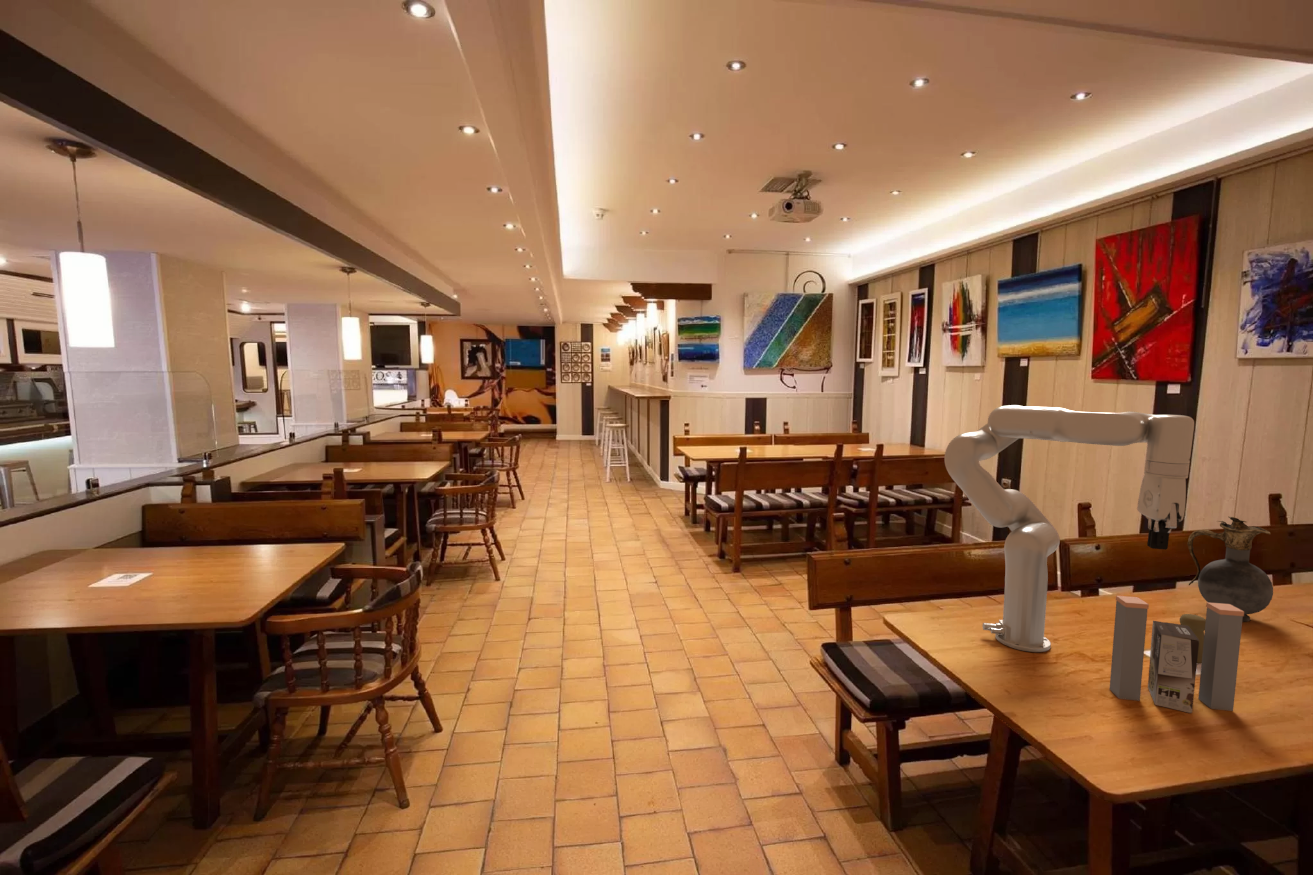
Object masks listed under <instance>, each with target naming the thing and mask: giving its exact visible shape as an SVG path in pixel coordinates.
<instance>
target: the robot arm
mask: <svg viewBox="0 0 1313 875" xmlns="http://www.w3.org/2000/svg"><path fill="white" fill-rule="evenodd" d="M1194 429H1195V420H1194V419H1193V418H1192V417H1191V416H1188V415H1183V414H1182V415H1181V414H1151V413H1144V412H1137V411H1122V412H1091V411H1078V410H1077V411H1075V410H1071V409H1068V408H1064V407H1059V406H1055V407H1054V406H1028V405H1027V406H1026V405H1025V406H1023V405H1019V404H1011V405H1010V404H1008V405H1002V406H998V407H996V408H994V409H993V410H992V411H990V413H989V414H988V418H987V423H986V424H985V425H983V426H982V427H980V428H979V429H978V430H976V431H970V432H969V431H968V432H964V433H961V434H958V435H956V436H954V437H953V438H952V440H950V441H949V443H948V445H947V447H946V448H945V452H944V466H945V469H946V471H947V473H948V475H949V476H950V477H951V479H952V480H953V482H954V483H955V484H956V485H957V486H958V488H959V489H960V490H961V491H962V492H963V494H965V496H966V498H967V499H968V500H969V502H971V504H972V505H973V506H974V508H975V509H976V510H977V511H978V512H979V514H980V515H981V516H982V518H984V520H985V521H986V522H987V523H988V524H989V525H991V526H993V527H995V528H1002V529H1003V528H1006V527H1007V528H1009V530H1010V532H1009V534H1007V537H1006V538H1005V540H1004V541H1005V542H1004V545H1003V546H1004V547H1003V548H1004V550H1003V552H1004V561H1005V562H1004V563H1005V564H1004V565H1005V574H1004V575H1005V576H1004V594H1003V595H1004V596H1003V610H1002V613H1003V614H1002V619H998V622H995V623H990V622H989V623H988V622H982V624H981V625H982V630H983V631H990V633H991V634H995V635H994V636H995V639H996V640H997V641H998V642H999V643H1001V644H1003V646H1004V645H1005V646H1007V647H1009V648H1012V649H1014V650H1019V651H1024V652H1028V653H1029V652H1031V653H1042V652H1043V653H1044V652H1047V651H1049V650H1050V649H1051V648H1052V647H1051V644H1052V643H1051V641H1050V640H1049V639H1048V638H1047V637H1046V636H1045V628H1046V614H1047V612H1046V611H1047V595H1048V582H1049V581H1048V579H1049V577H1048V576H1049V575H1048V565H1047V564H1048V563H1047V562H1048V557H1049V556H1050V555H1051V554H1053V553H1054V552H1055V551H1057V549H1058V548H1059V546H1060V541H1061V539H1060V535H1059V532H1058V530H1057V529H1056V528H1055V526H1054V525H1053V524H1052V523H1051V521H1049V519H1048V518H1047V517H1046V516H1045V515H1044V513H1043V512H1042V511H1041V509H1039V508H1038V507H1037V506H1036V504H1035V502H1033V501H1032V500H1031V498H1029V497H1028V496H1027V495H1026V494H1025V493H1023V492H1021V491H1020V490H1017V489H1011V488H1006V489H1005V488H1003V487H1002V485H1000V483H999V482H997V479H995V478H994V476H993V475H992V474H991V472H989V471H988V470H986V469H985V468H984V467H983V466H982V465H981V464H980V462H982V461H985V460H989V459H991V458H993V457H995V456H996V455H998V454H999V453H1001V452H1002V451H1003V450H1005V449H1006V448H1008V447H1009V446H1010V445H1012V444H1013V443H1014V442H1016V441H1017V440H1019V439H1028V440H1030V439H1031V440H1041V441H1051V442H1062V443H1065V442H1066V443H1075V444H1076V443H1077V444H1087V445H1099V446H1100V445H1101V446H1102V445H1103V446H1115V447H1122V446H1123V447H1124V446H1131V445H1134V444H1137V443H1138V444H1140V443H1147V446H1146V453H1145V454H1146V455H1145V462H1144V472H1143V476H1142V477H1143V478H1142V480H1141V485H1140V490H1139V492H1138V493H1139V494H1138V499H1137V508H1136V509H1137V512H1139V514H1141V515H1143V516H1144V517H1145V518H1146V519H1147V521H1148V523H1147V528H1148V535H1147V544H1146V545H1147V547H1149V548H1150V549H1153V550H1166V551H1167V550H1168V547H1169V539H1170V534H1171V532H1172V529H1177V527H1178V523H1180V522H1182V521H1183V520H1184V516H1185V511H1186V499H1187V498H1186V497H1187V481H1186V479H1188V478H1189V471H1190V465H1191V464H1190V463H1191V453H1192V446H1193V438H1194V432H1195V431H1194Z"/></svg>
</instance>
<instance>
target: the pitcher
mask: <svg viewBox="0 0 1313 875" xmlns="http://www.w3.org/2000/svg"><path fill="white" fill-rule="evenodd" d="M1228 518H1229V519H1230V520H1231V521H1232V522H1231V524H1228V523H1227V522H1226V521H1225V520H1217V523H1218V522H1220V523H1219V526H1220V528H1222V529H1223V530H1224V531H1223V532H1220V533H1217V532H1214V531H1211V530H1209V529H1197V530H1195V531H1193V532H1192V533H1190V535H1189V536H1188V539H1187V540H1188V541H1187V543H1186V544H1187V548H1188V550H1189V554H1190V555H1191V558H1192V560H1193V562H1194V564H1195V566H1196V568H1197V572H1196V575H1195V577H1194V578H1193V579H1192V580H1191V581H1190V582H1189V583H1188V586H1190V585H1191V584H1193V583H1194V582H1195V581H1196V580H1197V582H1198V583H1197V587H1198V590H1199V591H1198V592H1199V594H1201V597H1202V598H1203V599H1204V600H1205V601H1206V603H1207V602H1209V603H1222V604H1231V605H1233V606H1234V607H1236V608H1238V609H1240V610H1242V611H1244V616H1243V619H1242V623H1245V622H1246V623H1247V622H1250V621H1251V616H1250V615H1253V614H1256V613H1259V612H1261V611H1263V610H1265V609H1266V608H1268V606H1269V605H1270V602H1271V601H1272V599H1273V596H1274V586H1273V583H1272V581H1271V578H1270V577H1269V576H1268V574H1267V573H1266V572H1265V571H1264V570H1262V569H1261V568H1260V567H1258V566H1256V565H1255V564H1252V563H1250V556H1251V550H1252V549H1253V546H1252V545H1253V544H1252V542H1253V540H1254V538H1255V537H1256V536H1257V535H1259V534H1261V533H1262V534H1266V535H1271V532H1270V531H1269V530H1266V529H1264V528H1262V527H1261V526H1255V525H1253V526H1252V525H1249V526H1248V524H1245V523H1247V521H1246V520H1243V519H1239V518H1238V517H1234V516H1228ZM1198 536H1208V537H1211V538H1213V539H1216V540H1217V539H1218V540H1221V541H1222V542H1224V546H1225V547H1226V548H1225V557H1224V558H1223V559H1218V560H1213V561H1211V562H1209V563H1208V564H1206V565H1205V566H1203V568H1202V569H1201V567H1200V563H1199V562H1198V559H1197V556H1196V555H1195V552H1194V546H1193V545H1194V544H1193V543H1194V541H1195V540H1194V539H1195V538H1196V537H1198Z"/></svg>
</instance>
